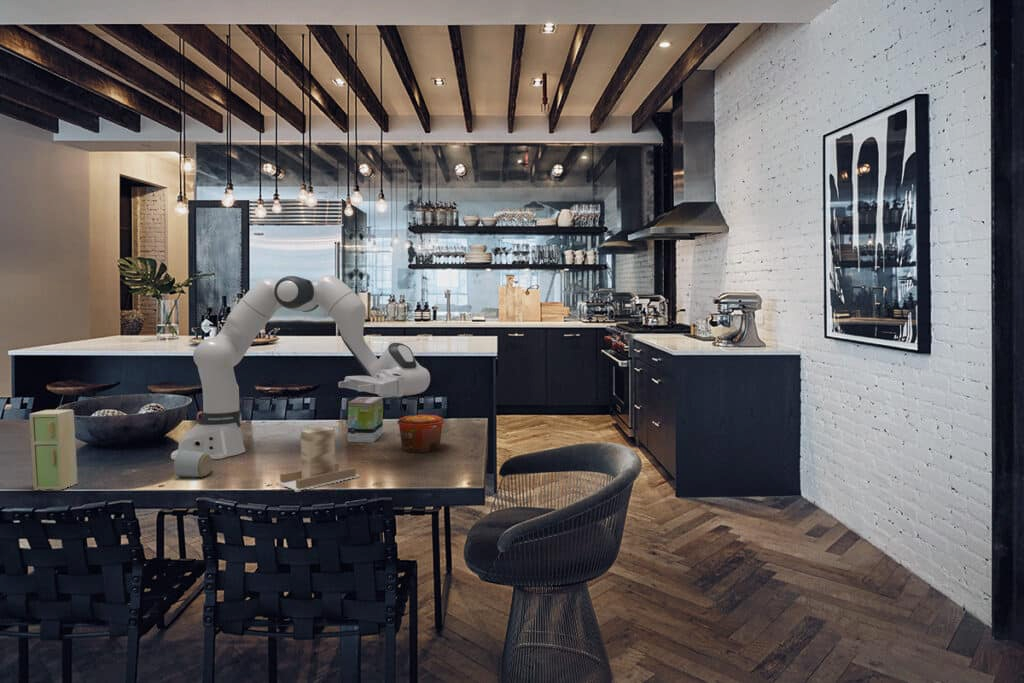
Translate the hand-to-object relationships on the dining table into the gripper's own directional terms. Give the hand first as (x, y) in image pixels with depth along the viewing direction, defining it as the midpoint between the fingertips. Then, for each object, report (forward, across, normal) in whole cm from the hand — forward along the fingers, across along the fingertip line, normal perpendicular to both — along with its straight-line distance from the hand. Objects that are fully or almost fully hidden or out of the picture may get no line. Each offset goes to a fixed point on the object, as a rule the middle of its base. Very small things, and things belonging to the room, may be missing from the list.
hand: (348, 386), depth 198 cm
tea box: (-31, -35, +26) cm, 53 cm away
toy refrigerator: (+65, -42, +28) cm, 82 cm away
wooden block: (+12, +4, +25) cm, 28 cm away
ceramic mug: (+34, -27, +27) cm, 51 cm away
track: (+12, +4, +26) cm, 29 cm away
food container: (-34, -6, +25) cm, 43 cm away
